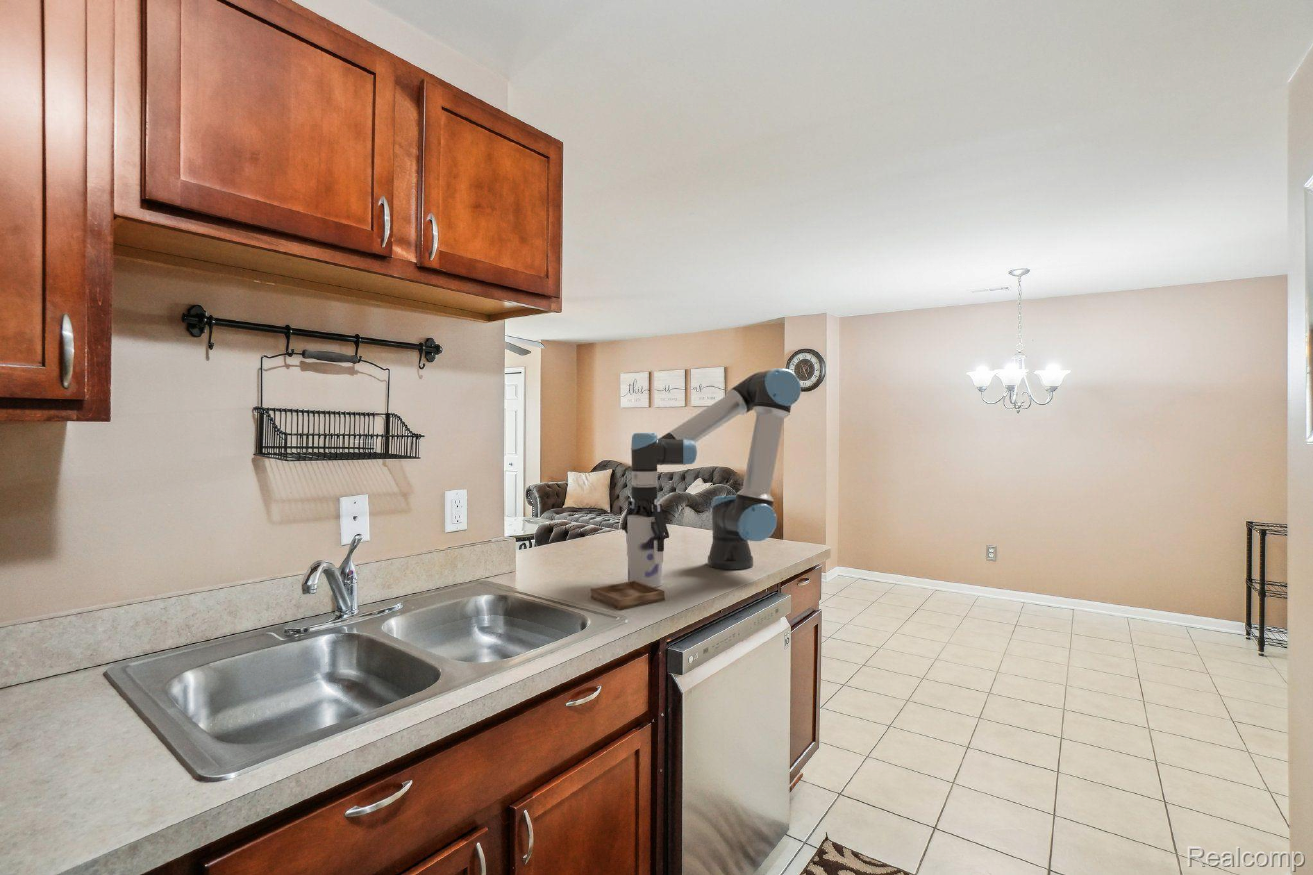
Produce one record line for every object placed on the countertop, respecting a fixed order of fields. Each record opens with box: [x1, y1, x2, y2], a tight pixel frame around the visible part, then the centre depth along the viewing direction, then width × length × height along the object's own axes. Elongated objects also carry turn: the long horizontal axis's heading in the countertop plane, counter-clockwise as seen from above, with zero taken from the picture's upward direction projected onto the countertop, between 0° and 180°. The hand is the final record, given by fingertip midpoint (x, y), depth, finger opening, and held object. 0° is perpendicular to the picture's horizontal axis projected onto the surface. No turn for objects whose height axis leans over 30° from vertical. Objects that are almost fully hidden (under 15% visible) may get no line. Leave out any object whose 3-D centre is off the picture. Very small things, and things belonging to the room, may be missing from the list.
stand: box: [590, 581, 666, 611], centre depth 158 cm, size 14×14×2 cm
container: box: [627, 515, 663, 588], centre depth 173 cm, size 10×10×20 cm
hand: (644, 559), depth 173 cm, fingers open, 13 cm apart
